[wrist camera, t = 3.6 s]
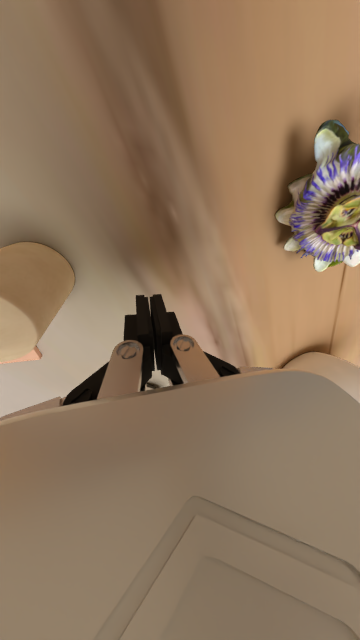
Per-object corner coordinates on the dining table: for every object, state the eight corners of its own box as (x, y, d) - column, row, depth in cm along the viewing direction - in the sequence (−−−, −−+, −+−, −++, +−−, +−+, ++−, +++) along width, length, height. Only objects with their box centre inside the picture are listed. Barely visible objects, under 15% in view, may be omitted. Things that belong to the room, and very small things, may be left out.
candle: (-5, 231, 13) (-213, 281, 5) (75, 251, 15) (14, 309, 7) (10, 292, 16) (-110, 384, 8) (75, 302, 18) (32, 382, 10)
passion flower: (253, 211, 22) (291, 128, 10) (347, 151, 18) (563, -72, 7) (287, 286, 22) (356, 288, 11) (383, 242, 19) (623, 181, 8)
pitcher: (272, 357, 35) (497, 610, 14) (342, 332, 36) (662, 535, 14) (262, 402, 50) (360, 556, 29) (311, 384, 51) (443, 520, 29)
